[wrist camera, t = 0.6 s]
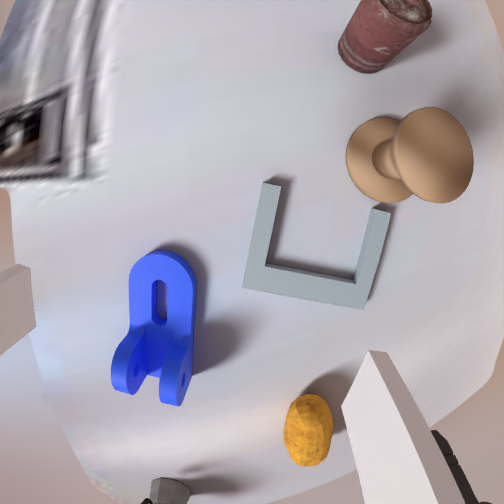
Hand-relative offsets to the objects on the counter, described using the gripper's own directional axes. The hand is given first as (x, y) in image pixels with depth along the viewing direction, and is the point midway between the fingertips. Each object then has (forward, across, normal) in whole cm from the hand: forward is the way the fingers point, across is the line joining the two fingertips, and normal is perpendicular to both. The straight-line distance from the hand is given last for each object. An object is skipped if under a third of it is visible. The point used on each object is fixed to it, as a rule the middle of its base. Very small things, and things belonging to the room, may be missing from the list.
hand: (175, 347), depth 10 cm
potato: (+25, +16, -27) cm, 40 cm away
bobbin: (+25, +15, +11) cm, 32 cm away
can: (+26, +10, +24) cm, 37 cm away
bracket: (+26, -8, -14) cm, 30 cm away
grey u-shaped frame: (+25, +9, -1) cm, 27 cm away
